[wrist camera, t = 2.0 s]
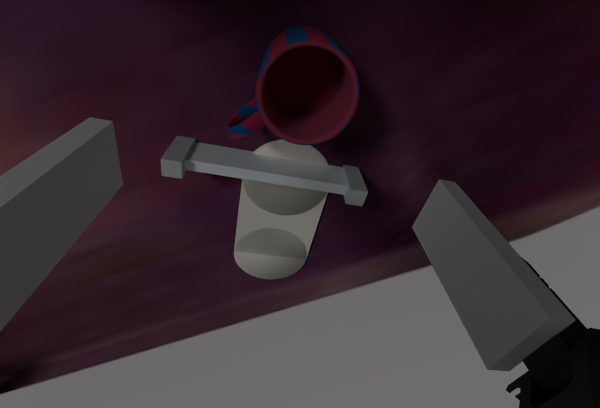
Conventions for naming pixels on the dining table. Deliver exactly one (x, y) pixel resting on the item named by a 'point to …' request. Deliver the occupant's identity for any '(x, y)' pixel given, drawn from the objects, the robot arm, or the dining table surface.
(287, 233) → the pad
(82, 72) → the dining table surface
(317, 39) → the cup
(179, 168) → the divider wall
